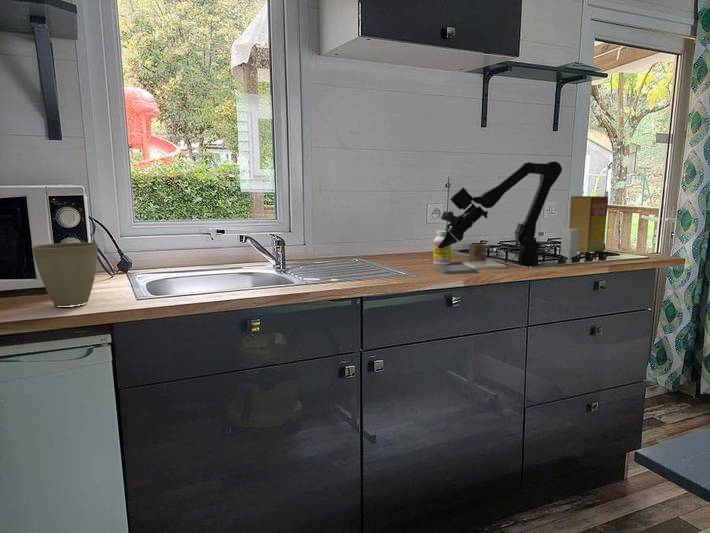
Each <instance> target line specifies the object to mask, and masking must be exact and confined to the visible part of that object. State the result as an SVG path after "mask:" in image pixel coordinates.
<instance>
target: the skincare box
mask: <svg viewBox="0 0 710 533" xmlns="http://www.w3.org/2000/svg"><path fill="white" fill-rule="evenodd" d="M578 236H579V229H569V228H566V229H562V230H561V238H560V242H561V244H560V251H559V252H560V253H559V254H560V255H562V256H565V257H567V258H568V259H567V260H572V259H571V258H572V257H575V256H577V257H578V253H577V250H578Z"/></svg>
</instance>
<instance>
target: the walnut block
mask: <svg viewBox="0 0 710 533" xmlns="http://www.w3.org/2000/svg"><path fill="white" fill-rule="evenodd" d="M468 261H487V244H483V243H469V244H468Z"/></svg>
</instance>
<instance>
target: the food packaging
mask: <svg viewBox="0 0 710 533" xmlns="http://www.w3.org/2000/svg"><path fill="white" fill-rule="evenodd" d="M608 204H609V196H600V195H599V196H597V195H596V196H595V195H593V196H591V195H590V196H589V195H585V196H584V195H581V196H580V195H572V196H571V197H570V208H569V209H570V210H569V211H570V212H569V226H568V227H569V228H568V229H579V236H578V250H577V251H579V252H595V251H603V252H604V253H605V242H606V226H607V218H608V217H607V216H608V206H609V205H608Z"/></svg>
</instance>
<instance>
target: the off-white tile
mask: <svg viewBox="0 0 710 533" xmlns="http://www.w3.org/2000/svg"><path fill="white" fill-rule="evenodd" d="M461 265H466V266H469V267H472V268H474V269H477V270H486V269H487V270H488V269H505V268H506V264H503V263H500V262H497V261H493V260H486V261H469V260H468V261H461Z"/></svg>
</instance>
